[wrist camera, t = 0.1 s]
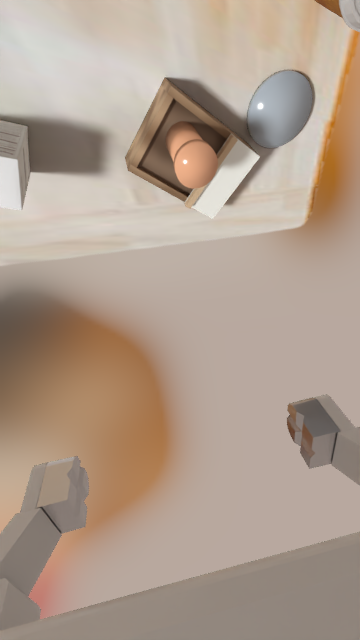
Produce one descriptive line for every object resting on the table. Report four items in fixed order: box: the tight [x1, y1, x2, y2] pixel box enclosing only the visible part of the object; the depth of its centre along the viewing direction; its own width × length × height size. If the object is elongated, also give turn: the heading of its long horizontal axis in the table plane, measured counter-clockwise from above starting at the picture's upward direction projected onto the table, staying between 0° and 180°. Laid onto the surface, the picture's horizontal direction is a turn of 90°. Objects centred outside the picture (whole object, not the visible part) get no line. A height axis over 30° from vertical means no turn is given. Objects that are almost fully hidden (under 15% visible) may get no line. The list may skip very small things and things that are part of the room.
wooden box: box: [125, 78, 257, 202], centre depth 52 cm, size 13×18×5 cm
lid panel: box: [185, 134, 260, 219], centre depth 53 cm, size 13×7×2 cm, turn 145°
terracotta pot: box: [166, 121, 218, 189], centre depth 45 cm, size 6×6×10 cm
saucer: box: [247, 70, 312, 148], centre depth 52 cm, size 11×11×1 cm
